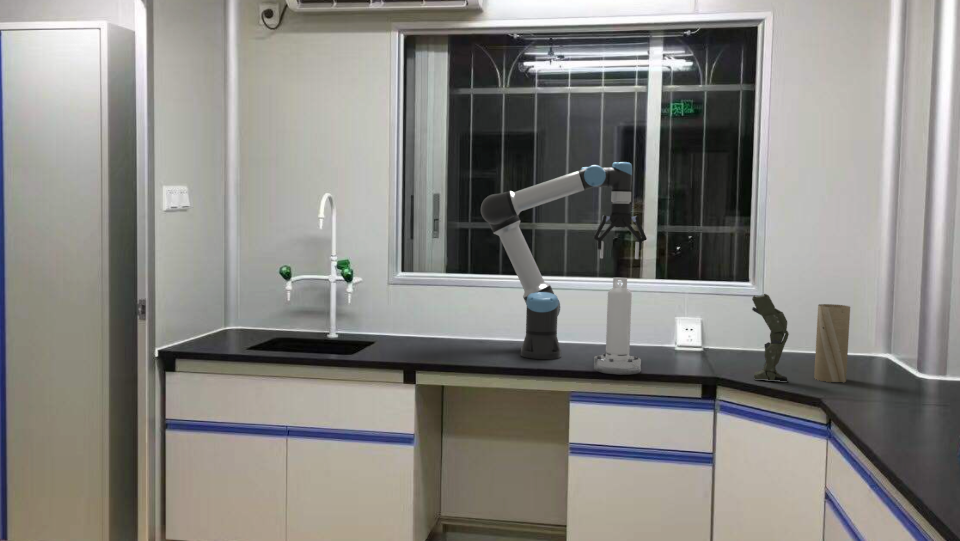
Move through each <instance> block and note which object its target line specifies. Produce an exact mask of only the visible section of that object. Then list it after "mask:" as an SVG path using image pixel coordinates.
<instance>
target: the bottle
mask: <svg viewBox="0 0 960 541" xmlns="http://www.w3.org/2000/svg"><path fill="white" fill-rule="evenodd" d="M618 281H620V282H618ZM632 297H633V296H632V291H631V290H630V289H628V278H627V277H613V279H612V288H611V289H609V290H608V291H607V304H606V305H607V308H606V310H607V311H606V335H605V336H606V339H605V340H606V341H605V353H606V359H614V360H617V361H624V360H628V359H629V356H630V347H631V345H630V344H631V324H632V323H631V319H632V318H631V316H632Z"/></svg>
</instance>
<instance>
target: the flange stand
mask: <svg viewBox="0 0 960 541" xmlns="http://www.w3.org/2000/svg"><path fill="white" fill-rule="evenodd" d="M593 357H594V358H593V359H594V360H593V361H594V362H593V370H594V371H596V372H599V373H603V374H609V375H622V376H623V375H637V374H639V373H641V370H642V368H641V367H642V366H641V365H642V359H641V358H640V357H639V356H638V355H634V356H632V355H629V359H628V360H624V361H617V360H614V359H606V352H603V353H602V354H599V355H595V356H593Z"/></svg>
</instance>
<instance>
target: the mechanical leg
mask: <svg viewBox="0 0 960 541" xmlns="http://www.w3.org/2000/svg"><path fill="white" fill-rule="evenodd" d="M751 299H752V302H753V304H754V306H755V307H754V306H753V307H752V308H751V310H752V312H754V313H756V314H758V315H760V316H761V317H762V318H763V320H764V322H765V323H766V325H767V328H769V329H768V330H770V332H769V339H770V341H769V342H766V343H765V344H764V358H765V362H764V364H763V368H762V369H761V370H758V371H755V372H753V378H755V379H768V380H780V381H787V380H788V377H787V376H785V375H782V373H779V372H778V371H777V370H776V369H777V368H776V366H777V365H778V363H779V362H780V360H781V356H782V354H783V351H784V348H785V345H786V343H787V341H788V339H789V335H790V333H789V331H788V320H787V318H786V315H785V314H784V312H783V311H781V310H779V309H777V308H776V306H775V304H774V302H773V301H772V298H771V297H770V295H769V294H767V293H763V295H759V296H758V295H753V296H752V298H751ZM755 379H754V380H755Z"/></svg>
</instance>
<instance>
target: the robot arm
mask: <svg viewBox="0 0 960 541" xmlns="http://www.w3.org/2000/svg"><path fill="white" fill-rule="evenodd" d="M632 184H633V165H632V163H630V162H629V161H628V162H627V161H620V162H619V161H617V162H616V161H614V162H613V163H612V165H611V166H609V167H605V166H603V167H602V166H600V165H598V164H591V165H589V166H584V167H583V166H582V167H581V168H580V170H577V171H573V172H570V173H567V174H564V175H561V176H558V177H556V178H552V179H549V180H547V181H543V182H541V183H538V184H534V185H532V186H528V187H525V188H523V189H520V190H517V191H512V190H509V191H504V192H501V193H494V194H490V195H488V196H487V197H485V198H484V199H483V201H482V203H481V206H480V214H481V216H482V218H483V220H484V221H485V222H487V223H488V224H489V226H490V230H491V231H492V233H493V234H494V235H497V236H498V237H499V239H500V242H501V243H502V246H503V247H504V250H505V252H506V255H507V257H508V258H509V260H510V262H511V264H512V267H513V269H514V272H515V274H516V276H517V277H518V280H519V282H520V284H521V287H522V288H523V291H524V293H523V295H522V297H523V300H524V302H525V305H526V314H525V315H526V318H525V320H526V321H525V336H524V339H523V343H522V346H521V349H520V356H521V357H522V358H526V359H535V360H556V359H560V358H561V357H562V349H561V347H560V342H559V340H558V316H559V314H560V312H561V301H560V300H559V298H558V296H557V294H555V292H554V291H553V289H552V286H551V284H550V283H547V282H545V280H544V278H543V276H542V274H541V272H540V269H539V266H538V265H537V263H536V260H535V259H534V256H533V255H532V252H531V249H530V248H529V245H528V243H527V241H526V239H525V236H524V235H523V233H522V230H521V228H520V224H521V219H520V217H519V216H520V213H521V212H522V211H526V210H529V209H532V208H535V207H538V206H540V205H541V206H542V205H544V204H547V203H550V202H553V201H556V200H559V199H562V198H565V197H568V196H571V195H574V194H577V193H581V192H583V191H586V190H589V189H592V188H611V194H610V195H611V197H610V201H611V202H612V203H611V204H610V215H609V216H608V215H604V214H603V215H602V216H601V220H600V221H601V222H600V223H599V225H598V227H597V229H596V231H595V232H594V234H593V236H592V239H594V241H595V240H596V241H597V250H598V251H599V259H604V245H605V244H604V241H603V239H604V238H605V237H606V236H607V235H608V234H609V233H610V232H611V231H612V229H613V228H622V229H623V228H626V229H627V230H628V231H629V232H630V234H632V236H633V237H634V238H635V240H636V241H635V243H634V244H635V248H634V251H635V252H634V259H635V260H639V254H640V251H642V243H643V242H644V241H647V239H648V238H647V236H646V234H645V232H644V229H643V227H642V225H641V222H640V217H639V216H637V215H635V216H631V215H632V214H631V211H632V204H631V203H632ZM608 221H610V222H611V223H610V224H609V225H608V226H607V228H606V229H605V230H604V231H603V232H602V230H603V228H604V226H605V225H606V222H608ZM632 221H633V222H634V224H635V226H636V228H637V231H638V233H637V232H636V230H635V229H634V227H632V225H631V222H632ZM601 232H602V233H601ZM600 233H601V234H600Z"/></svg>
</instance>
